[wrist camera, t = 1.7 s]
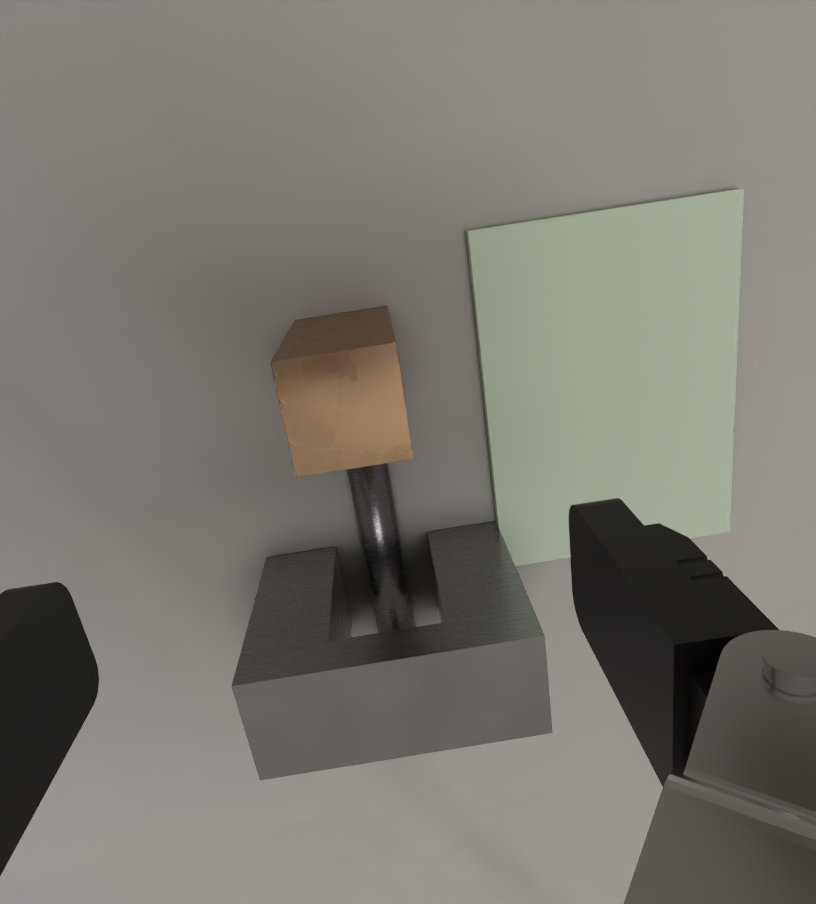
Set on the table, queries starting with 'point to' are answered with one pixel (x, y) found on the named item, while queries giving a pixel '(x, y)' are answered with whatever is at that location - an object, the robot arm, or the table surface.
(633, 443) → the mat
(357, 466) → the wooden head mallet
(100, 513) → the table surface
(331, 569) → the slotted metal block
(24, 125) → the table surface
